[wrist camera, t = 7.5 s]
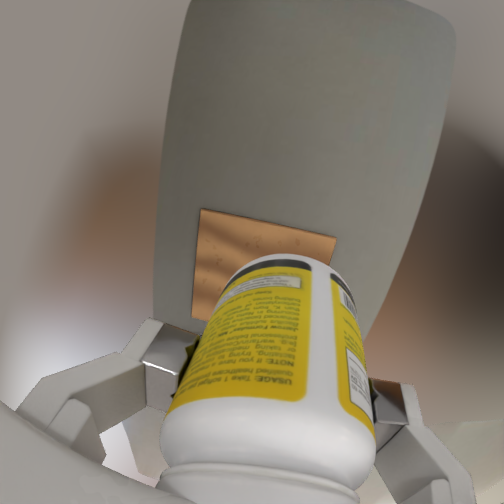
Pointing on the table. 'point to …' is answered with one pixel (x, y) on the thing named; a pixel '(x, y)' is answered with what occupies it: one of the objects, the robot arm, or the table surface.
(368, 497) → the table surface
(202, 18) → the table surface
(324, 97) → the table surface
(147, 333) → the robot arm
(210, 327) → the supplement bottle
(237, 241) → the wooden board
